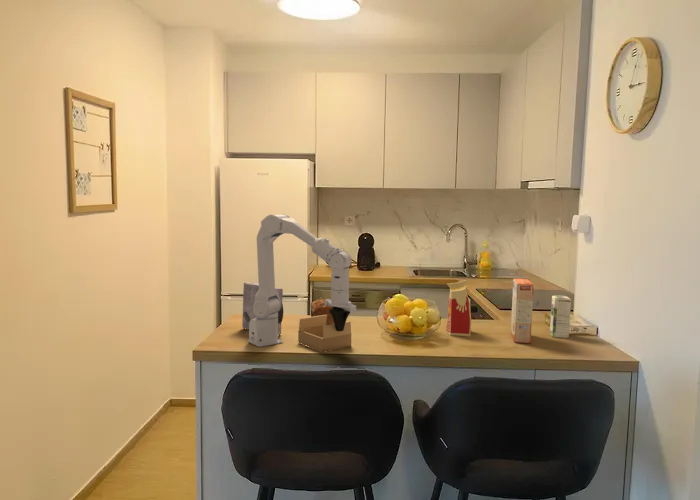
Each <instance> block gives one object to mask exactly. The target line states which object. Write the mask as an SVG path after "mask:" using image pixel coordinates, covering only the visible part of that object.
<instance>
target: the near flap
mask: <svg viewBox="0 0 700 500" xmlns="http://www.w3.org/2000/svg"><path fill="white" fill-rule="evenodd" d="M351 323H352V322H351V321H346V323H345V326H344V330H343V331H336V328H335V324H333V325H326V326H323V339H325V338H331V337H336V336H342V335H347V334H351V335H352V328H351V326H352V324H351Z"/></svg>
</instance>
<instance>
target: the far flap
mask: <svg viewBox="0 0 700 500" xmlns="http://www.w3.org/2000/svg"><path fill="white" fill-rule="evenodd" d="M326 319H327V315H321V316H314V317H311V316H307V317H301V318H299V324H298V325H299V326H298V330H303V329H309V328H315V327H321V326H326Z"/></svg>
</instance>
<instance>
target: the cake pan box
mask: <svg viewBox="0 0 700 500" xmlns="http://www.w3.org/2000/svg"><path fill="white" fill-rule="evenodd" d="M275 289H276V290H277V291H278V293H279V299H280V301H281V309H280V311H279V312H278V335H280V334H281V335H282V322H283V318H284V305H283V293H284V292H283V290H284V289H283V288H281V287H276V286H275ZM258 290H259V282H253V281H251V282H250V281H249V282H243V292H242V293H243V295H242V296H243V297H242V320H241V321H242V322H241V324H242V325H241V328H242V327H243V328H246V329H249V322H250V320H251V319H255V318H256V315H255V314H254V312H253V304H254V302H255V295H256V293H257V292H258ZM246 329H245V330H246Z"/></svg>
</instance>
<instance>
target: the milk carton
mask: <svg viewBox="0 0 700 500" xmlns="http://www.w3.org/2000/svg"><path fill="white" fill-rule="evenodd" d="M446 285H447V286H448V288H449V296H448V303H447V316H446V317H447V318H446V319H447V320H446V326H445V333H446V334H447V335H449V336H459V337H461V336H463V337H471V332H472V331H471V329H472V315H471V303H470V299H469V297H468V291H467V279H464V280H461V281H457V282H451V283H446Z"/></svg>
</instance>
